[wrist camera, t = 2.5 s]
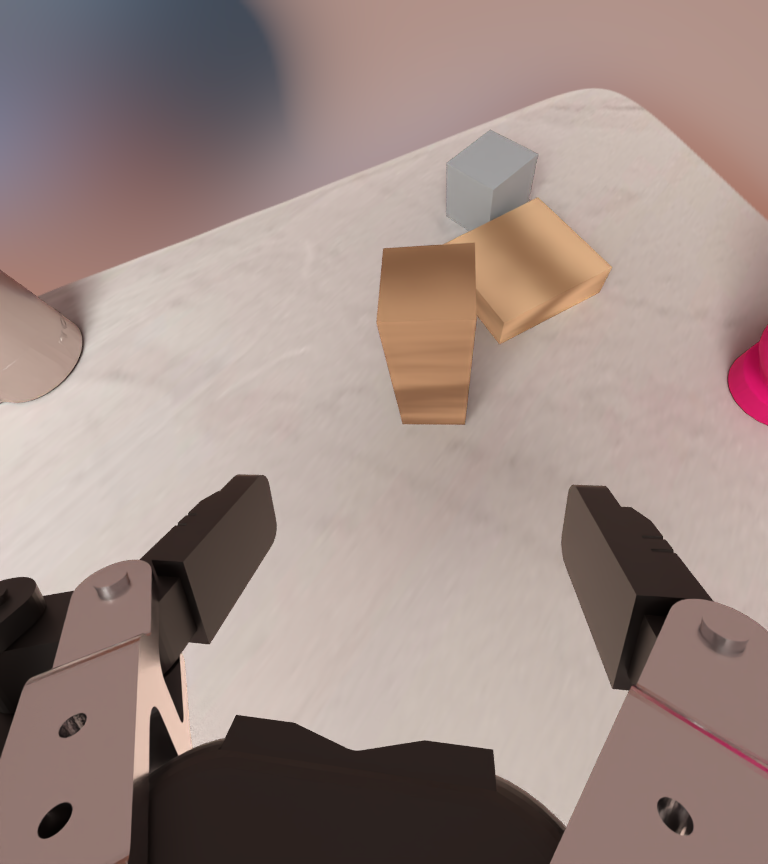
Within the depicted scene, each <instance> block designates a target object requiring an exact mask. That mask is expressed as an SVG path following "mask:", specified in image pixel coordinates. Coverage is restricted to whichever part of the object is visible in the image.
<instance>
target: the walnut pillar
mask: <svg viewBox="0 0 768 864" xmlns="http://www.w3.org/2000/svg"><path fill="white" fill-rule="evenodd" d="M476 320H477V316H476V269H475V243H460V244H445V245H430V246H414V247H399V248H384V249H383V257H382V268H381V279H380V290H379V301H378V312H377V326H378V330H379V334H380V338H381V342H382V346H383V350H384V353H385V357H386V361H387V365H388V369H389V373H390V377H391V380H392V384H393V388H394V392H395V396H396V400H397V404H398V407H399V411H400V415H401V419H402V423H403V424H455V425H465V418H466V409H467V400H468V391H469V382H470V373H471V364H472V355H473V346H474V337H475V329H476Z"/></svg>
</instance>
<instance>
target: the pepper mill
mask: <svg viewBox="0 0 768 864" xmlns="http://www.w3.org/2000/svg"><path fill="white" fill-rule="evenodd" d="M728 383H729V389H730V392H731V394H732V396H733V398H734V400H735V401H736V403H737V404H738V405H739V406H740V407H741V408H742V409H743V410H744V411H745V412H746V413H747V414H748V415H750V416H751V417H753V418H754V419H756V420H757V421H759V422H761V423H763V424H766V425H768V325H767V327H766V328H765V330H764V331H763V333H762V336H761V338H760V341H759V342H758V343H756V344H755V345H753V346H752V347H751V348H750V349H748V350H747V351H746V352H745V353H743V354H742V355H741V356H740V357H738V358H737V359H736V360H735V362H734V363H733V365H732V366H731V368H730V371H729V375H728Z"/></svg>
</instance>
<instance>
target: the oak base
mask: <svg viewBox="0 0 768 864" xmlns="http://www.w3.org/2000/svg"><path fill="white" fill-rule="evenodd" d="M460 243H475V269H476V315H477V316H478V317H479V319H480V320H481V321H482V322H483V324H484V325H485V326H486V328H487V329H488V330H489V331H490V333H491V334H492V335H493V336H494V338H495V339H496V340H497V342H498V343H499V344H501V343H503V342H505V341H507V340H509V339H511V338H513V337H514V336H516V335H518V334H520V333H522V332H524V331H526V330H528V329H530V328H532V327H534V326H536V325H538V324H540V323H541V322H543V321H545V320H547V319H549V318H551V317H553V316H555V315H557V314H559V313H561V312H563V311H565V310H567V309H568V308H570V307H572V306H574V305H576V304H578V303H580V302H582V301H584V300H586V299H588V298H590V297H592V296H594V295H595V294H597V293H599V292H600V290H601V288H602V286H603V284H604V282H605V280H606V278H607V276H608V274H609V272H610V270H611V269H612V267H611V266H610V265H609V264H608V263H607V262H606V261H605V260H604V259H603V258H602V257H601V256H600V255H598V254H597V253H596V252H595V251H594V250H593V249H592V248H591V247H590V246H589V245H588V244H587V243H586V242H585V241H584V240H583V239H582V238H580V237H579V236H578V235H577V234H576V233H575V232H574V231H573V230H572V229H571V228H570V227H569V226H568V225H567V224H566V223H565V222H564V221H562V220H561V219H560V218H559V217H558V216H557V215H556V214H555V213H554V212H553V211H552V210H551V209H550V208H549V207H548V206H547V205H546V204H544V203H543V202H542V201H541V200H540V199H539V198H538V197H537V198H535V199H533V200H531V201H529V202H527V203H525V204H523V205H521V206H519V207H517V208H515V209H513V210H511V211H509V212H507V213H505V214H503V215H501V216H499V217H497V218H495V219H493V220H491V221H489V222H487V223H485V224H483V225H481V226H479V227H477V228H475V229H473V230H471V231H469V232H467V233H465V234H463V235H461V236H459V237H457V238H455V239H453V240H451V241H449V242H447V243H445V244H460ZM445 244H443V245H445Z"/></svg>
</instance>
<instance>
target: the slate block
mask: <svg viewBox="0 0 768 864" xmlns="http://www.w3.org/2000/svg"><path fill="white" fill-rule="evenodd" d="M537 158H538V154H537V153H535V152H533V151H531V150H529V149H527V148H525V147H523V146H521V145H519V144H518V143H516V142H514V141H512V140H510V139H508V138H506V137H504V136H502V135H500V134H498V133H496V132H494V131H492V130H489V131H488V132H487V133H485V134H484V135H483V136H481V137H480V138H479V139H477V140H476V141H475V142H473V143H472V144H471V145H470V146H468V147H467V148H466V149H464V150H463V151H462V152H460V153H459V154H458V155H456V156H455V157H454V158H453V159H451V160H450V161H449V162H447V184H446V216H447V217H448V218H450V219H451V220H453V221H454V222H456V223H458V224H459V225H461V226H462V227H464V228H465V229H467V230H468V231H471V230H473V229H475V228H477V227H479V226H481V225H483V224H485V223H487V222H489V221H491V220H493V219H495V218H497V217H499V216H501V215H503V214H505V213H507V212H509V211H511V210H513V209H515V208H517V207H519V206H521V205H523V204H525V203H527V202H528V201H529V196H530V191H531V186H532V182H533V177H534V172H535V167H536V163H537Z"/></svg>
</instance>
